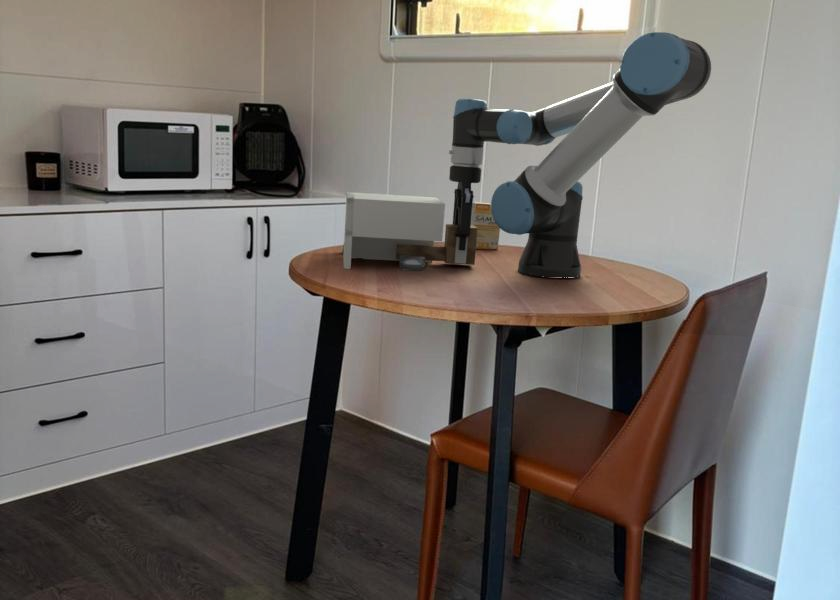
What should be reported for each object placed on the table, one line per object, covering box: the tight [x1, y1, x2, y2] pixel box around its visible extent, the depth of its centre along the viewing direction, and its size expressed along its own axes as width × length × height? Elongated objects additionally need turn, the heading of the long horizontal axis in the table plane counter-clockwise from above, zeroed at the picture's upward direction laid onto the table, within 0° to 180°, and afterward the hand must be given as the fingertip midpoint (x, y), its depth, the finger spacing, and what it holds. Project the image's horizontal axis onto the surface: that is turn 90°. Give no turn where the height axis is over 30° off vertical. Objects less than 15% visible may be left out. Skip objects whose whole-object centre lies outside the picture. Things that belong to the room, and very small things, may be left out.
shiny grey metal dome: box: [398, 254, 426, 272], centre depth 187 cm, size 6×6×3 cm
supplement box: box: [471, 201, 501, 251], centre depth 227 cm, size 8×5×13 cm, turn 102°
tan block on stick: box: [396, 223, 477, 266], centre depth 194 cm, size 19×5×9 cm, turn 96°
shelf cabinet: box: [342, 191, 446, 270], centre depth 188 cm, size 22×16×16 cm
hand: (458, 261), depth 195 cm, fingers closed on tan block on stick, 5 cm apart
